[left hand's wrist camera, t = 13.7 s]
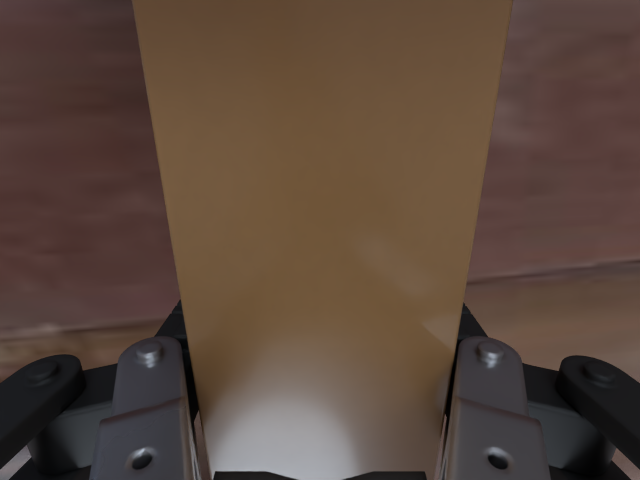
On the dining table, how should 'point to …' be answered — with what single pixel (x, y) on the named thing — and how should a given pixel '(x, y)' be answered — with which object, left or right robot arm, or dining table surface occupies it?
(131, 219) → the dining table surface
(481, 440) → the left robot arm
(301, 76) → the bar
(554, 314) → the dining table surface
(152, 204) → the dining table surface
